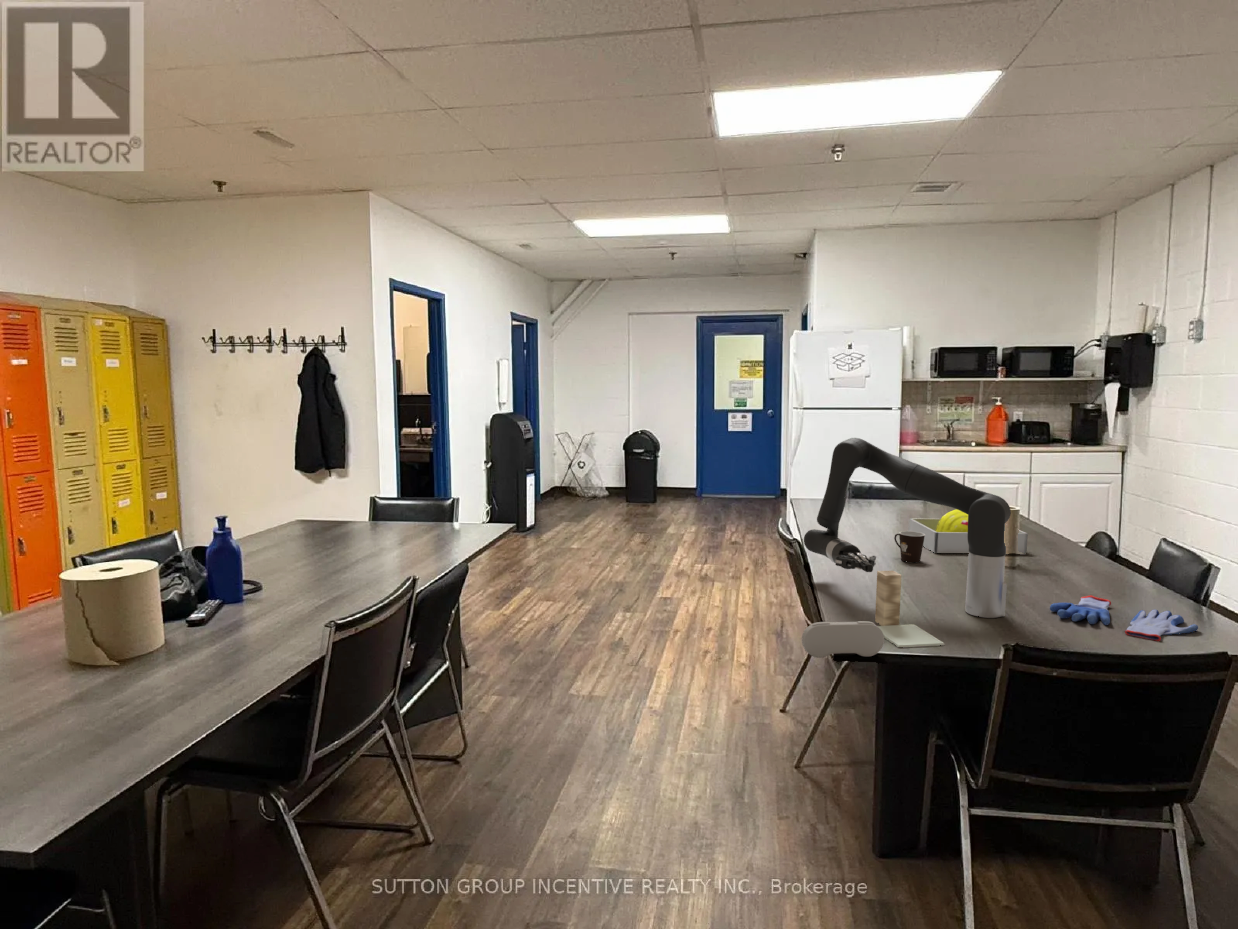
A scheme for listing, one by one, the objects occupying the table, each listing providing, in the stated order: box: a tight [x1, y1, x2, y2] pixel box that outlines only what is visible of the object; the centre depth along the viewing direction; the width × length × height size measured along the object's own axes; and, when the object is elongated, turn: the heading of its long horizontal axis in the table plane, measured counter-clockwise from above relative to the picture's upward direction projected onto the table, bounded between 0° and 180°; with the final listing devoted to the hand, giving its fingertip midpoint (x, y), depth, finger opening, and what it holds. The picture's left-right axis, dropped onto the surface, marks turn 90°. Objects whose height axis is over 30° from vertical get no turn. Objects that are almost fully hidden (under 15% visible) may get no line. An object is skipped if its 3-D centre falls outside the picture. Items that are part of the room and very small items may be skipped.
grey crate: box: [907, 517, 1029, 554], centre depth 291 cm, size 34×28×8 cm
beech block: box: [874, 570, 903, 626], centre depth 198 cm, size 4×4×14 cm
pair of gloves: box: [1049, 594, 1199, 642], centre depth 201 cm, size 32×26×4 cm
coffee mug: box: [894, 530, 925, 563], centre depth 268 cm, size 12×9×10 cm
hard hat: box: [935, 509, 968, 532], centre depth 289 cm, size 20×26×15 cm
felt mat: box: [876, 623, 945, 648], centre depth 189 cm, size 14×12×1 cm
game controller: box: [801, 620, 885, 659], centre depth 176 cm, size 20×2×8 cm, turn 94°
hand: (870, 568), depth 207 cm, fingers closed
